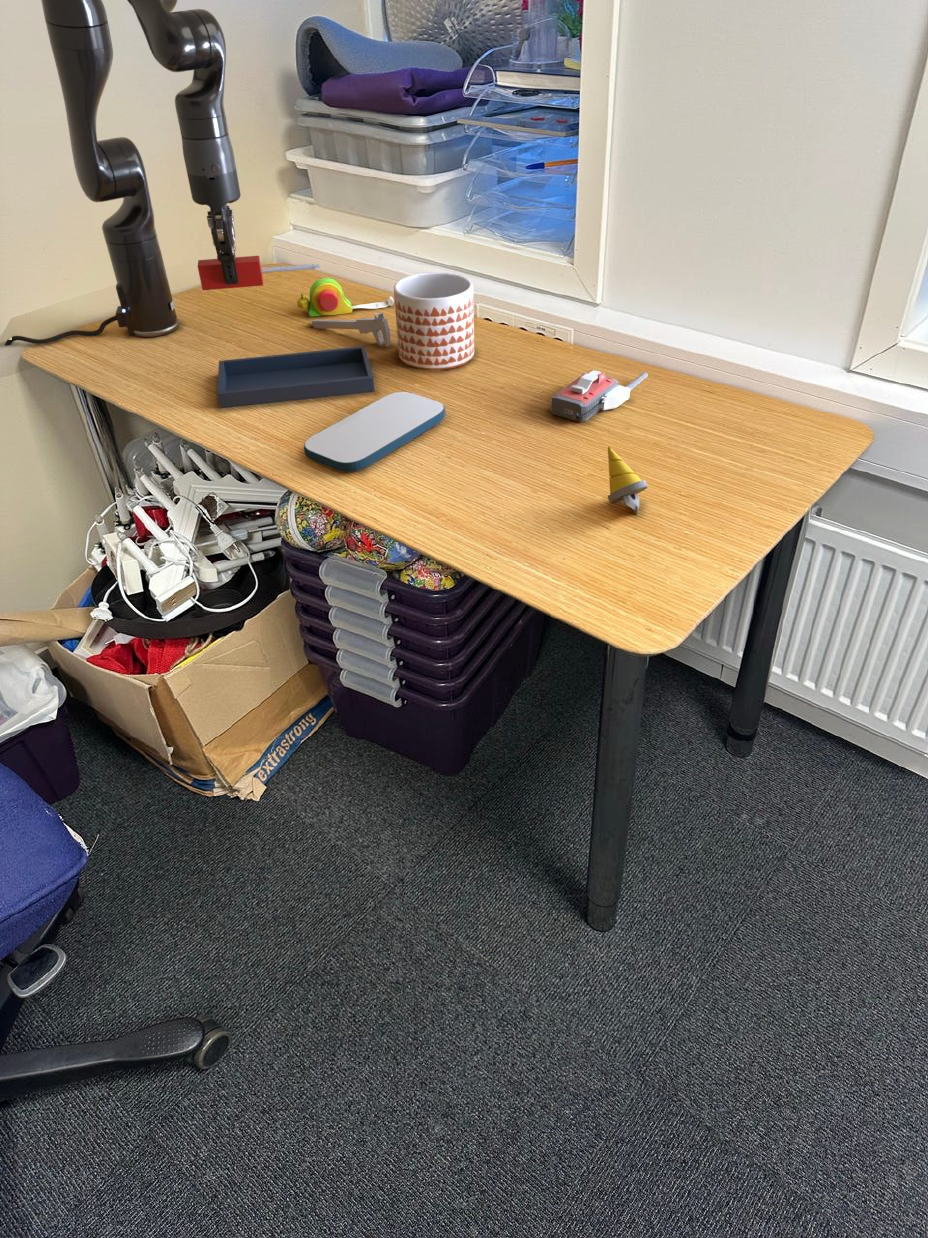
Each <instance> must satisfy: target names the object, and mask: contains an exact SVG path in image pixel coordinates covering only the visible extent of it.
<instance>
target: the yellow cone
mask: <svg viewBox="0 0 928 1238" xmlns="http://www.w3.org/2000/svg"><path fill="white" fill-rule="evenodd" d="M607 458H608V476H609V477H608V478H609V495H608V496H607V499H608V501H609V503H610V504H616V503H619V502H622V501H623V503H624V505H626V506H627V507H629V508H631V510H632V512H634V513H635V514H636V515H638V514H639V508H640V498H639V495H638V494H640V493H641V492H643V491H645V490H646V489H648V488H649V486H648V484H647V481H646V479H641V478H640V477H639V476H638V475H637V474H636V473H635V472H634V470H632V468H630V466H629V465H628V464H626V462H625V461H624V460H623V459H622V458H621V457H620V456H619V455H618V454H617V453H616V452H615V451H614V450H613V449H612V448H611V447H610V446H607Z"/></svg>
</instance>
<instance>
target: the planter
mask: <svg viewBox="0 0 928 1238" xmlns="http://www.w3.org/2000/svg"><path fill="white" fill-rule="evenodd" d="M393 300H394V309H395V311H394V312H395V323H396V335H397V348H398V358H399V359H400V361H401V362H402V363H403V364H405V365H406V366H409V367H411V368H415V369H419V370H425V371H426V370H427V371H428V370H429V371H439V370H440V371H446V370H451V369H455V368H459V367H461V366H463V365H466V364H468V363H469V362H470V361H471V360H472V359H473V358H474V356H475V320H474V319H475V318H474V316H475V315H474V313H475V312H474V311H475V310H474V284H473V282H472V281H471V280H470V279H469V278H468V277H466V276H463V275H460V274H456V273H451V272H444V271H443V272H441V271H434V272H433V271H431V272H419V273H415V274H411V275H408V276H405V277H403V278H400V279H399V280H398V281H397V282H395V284H394V285H393Z"/></svg>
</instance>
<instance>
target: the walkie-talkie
mask: <svg viewBox="0 0 928 1238" xmlns="http://www.w3.org/2000/svg"><path fill="white" fill-rule="evenodd" d="M648 376H649V375H648V372H643V373H641V374H639V376H637V377H635V379H633V380H632V381H631V382H629V383H628V384H627V385H620V384H619V381H618V380H616V379H615V378H612V377H608V376H606V373H605V372H603V371H599V370H596V369H595V370H594V369H590V370H589V371H587V372H586V373H583V374H582V375H580V376H578V377H577V378H576V379H575V380H573V381H571V382H570V383H569V384H568V385H566V386H564V387H563V388H562V389H560V390H559V391H558V392H557V393H555V394H554V395H552V396H551V399H550V400H551V402H550V412H551V414H553V415H554V416H558V417H561V418H564V419H567V420H568V419H569V420H572V421H575V422H578V423H582V422H587V421H588V420H589V419H591V418H592V417H593V416H595V415H596V414H597V413H598V412H600V411H601V410H602V411H608V410H612V409H617V408H619V406H620V405H622V404H623V403H624V402H626V401H628V400H630V395H631V394H630V393H631V391H632V390H633V389H634V388H636V387H637V386H639V385H640V384H641V382H642V381H644V380H645V379H646V378H647V377H648Z"/></svg>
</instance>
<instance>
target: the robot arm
mask: <svg viewBox="0 0 928 1238" xmlns="http://www.w3.org/2000/svg"><path fill="white" fill-rule="evenodd" d="M40 1H41V5H42V11H43V17H44V22H45V25H46V30H47V35H48V39H49V43H50V48H51V51H52V55H53V59H54V63H55V67H56V70H57V75H58V80H59V84H60V88H61V93H62V98H63V102H64V107H65V113H66V120H67V127H68V133H69V140H70V147H71V154H72V159H73V165H74V169H75V173H76V176H77V180H78V183H79V184H80V188H81V191H83V193H84V195H85V196H86V197H87V198H88V199H89V200H90V201H92V202H94V203H105V202H110V201H114V200H119V199H122V203H121V205H120V206H119V208H118V209H116V211H115V212H114V213H113V214H112V215H110V216H109V217H108V218H107V219H105V220H104V222H103V223H102V225H101V230H102V235H103V238H104V241H105V244H106V247H107V252H108V255H109V259H110V262H111V266H112V270H113V273H114V277H115V281H116V285H115V290H116V293H117V298H118V300H119V304H120V305H117V308H116V311H115V315H113V316H111V317H108V318H107V319H105V320H103V321H102V322H101V323H100V324H99V327H98V328H97V329H96V330H81V329H77V330H76V329H75V330H68V331H65V332H62V333H59V334H56V335H54V336H51V337H48V338H39V339H37V338H32V337H27V336H24V335H13V336H11V337H12V340H8V339H7V340H6V341H5V343H4V346H5V347H6V346H10V345H12V343H15V342H16V341H21V342H25V343H29V344H36V345H44V344H45V345H46V344H49V343H53V342H57V341H60V340H62V339H64V338H67V337H71V336H88V337H93V336H98V335H101V334H102V333H103V332H104V330H105V328H106V327H107V326H108V325H109V324H111V323H114V322H117V324H118V327H119V328H126V329H127V333H128V336H129V337H141V338H153V337H160V336H164V335H167V334H170V333H173V332H174V331H176V330H177V329H178V328H179V327H180V323H179V319H178V315H177V312H176V309H175V307H176V303H175V299H174V298H173V295H172V291H171V287H170V283H169V278H168V275H167V271H166V267H165V263H164V259H163V254H162V250H161V245H160V242H159V238H158V233H157V230H156V223H155V213H154V209H153V204H152V199H151V195H150V194H151V193H150V189H149V183H148V178H147V174H146V169H145V164H144V161H143V158H142V155H141V153H140V151H139V148H138V147H137V145H136V143H134V142H133V141H132V140H131V139H130V138H128V137H125V136H121V137H120V136H119V137H113V138H106V139H101V140H98V137H97V135H98V134H97V116H98V110H99V105H100V102H101V98H102V96H103V94H104V91H105V88H106V85H107V82H108V80H109V77H110V74H111V70H112V65H113V61H114V60H113V58H114V49H113V42H112V37H111V32H110V25H109V20H108V15H107V11H106V7H105V5H104V2H103V0H40ZM126 1H127V3H128V4H129V5H130V6H131V7H132V9H133V11H134V14H135V16H136V18H137V21H138V23H139V25H140V28H141V30H142V32H143V35H144V37H145V40H146V43H147V45H148V48H149V50H150V52H151V54H152V57H153V58H154V59H155V61H156V62H157V63H158V64H159V65H160V66H162V67H163V68H164V69H165V70H167V71H169V72H172V73H184V72H189V71H193V73H192V79H191V83H190V84H189V85H188V86H187V87H185V88H182V89H181V90H180V91H178V92H177V93H176V95H175V97H174V107H175V113H176V117H177V121H178V126H179V132H180V136H181V145H182V146H181V147H182V154H183V158H184V159H183V160H184V164H185V165H184V166H185V169H186V174H187V180H188V185H189V189H190V190H189V191H190V194H191V199H192V201H193V202H194V203H195V204H197V205H199V206H208V207H209V210H207V215H206V220H207V225H208V228H209V229H210V233H211V234H210V235H211V239H212V244H213V246H214V248H215V251H216V257H217V258H216V259H218V260H219V262H221V266H222V271H223V276H224V281H225V284H227V285H231V284H237V283H238V276H237V270H236V265H235V257H237V256H236V250H237V248H236V247H237V246H235V244H236V231H235V225H234V221H235V217H234V216H235V215H234V212H233V209H231V208H230V205H227V204H233V203H235V202H238V200H239V199H240V198H241V189H240V183H239V178H238V172H237V166H236V160H235V154H234V149H233V145H232V141H231V138H230V133H229V128H228V122H227V117H226V116H227V115H226V112H225V105H224V97H225V78H226V64H227V63H226V62H227V45H226V39H225V34H224V31H223V29H222V27H221V25H220V23H219V21H218V20H217V18H216V17H215V16H214V14H213V13H211V12H210V11H209V10H206V9H202V8H194V9H187V10H179V11H173V10H174V9H175V8H176V6H177V3H178V0H126Z"/></svg>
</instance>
